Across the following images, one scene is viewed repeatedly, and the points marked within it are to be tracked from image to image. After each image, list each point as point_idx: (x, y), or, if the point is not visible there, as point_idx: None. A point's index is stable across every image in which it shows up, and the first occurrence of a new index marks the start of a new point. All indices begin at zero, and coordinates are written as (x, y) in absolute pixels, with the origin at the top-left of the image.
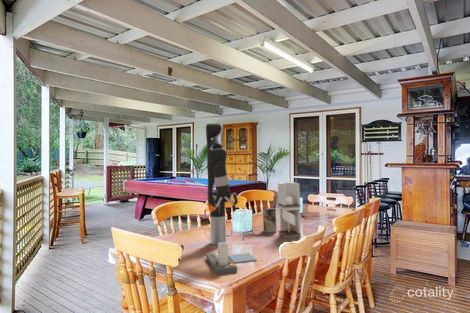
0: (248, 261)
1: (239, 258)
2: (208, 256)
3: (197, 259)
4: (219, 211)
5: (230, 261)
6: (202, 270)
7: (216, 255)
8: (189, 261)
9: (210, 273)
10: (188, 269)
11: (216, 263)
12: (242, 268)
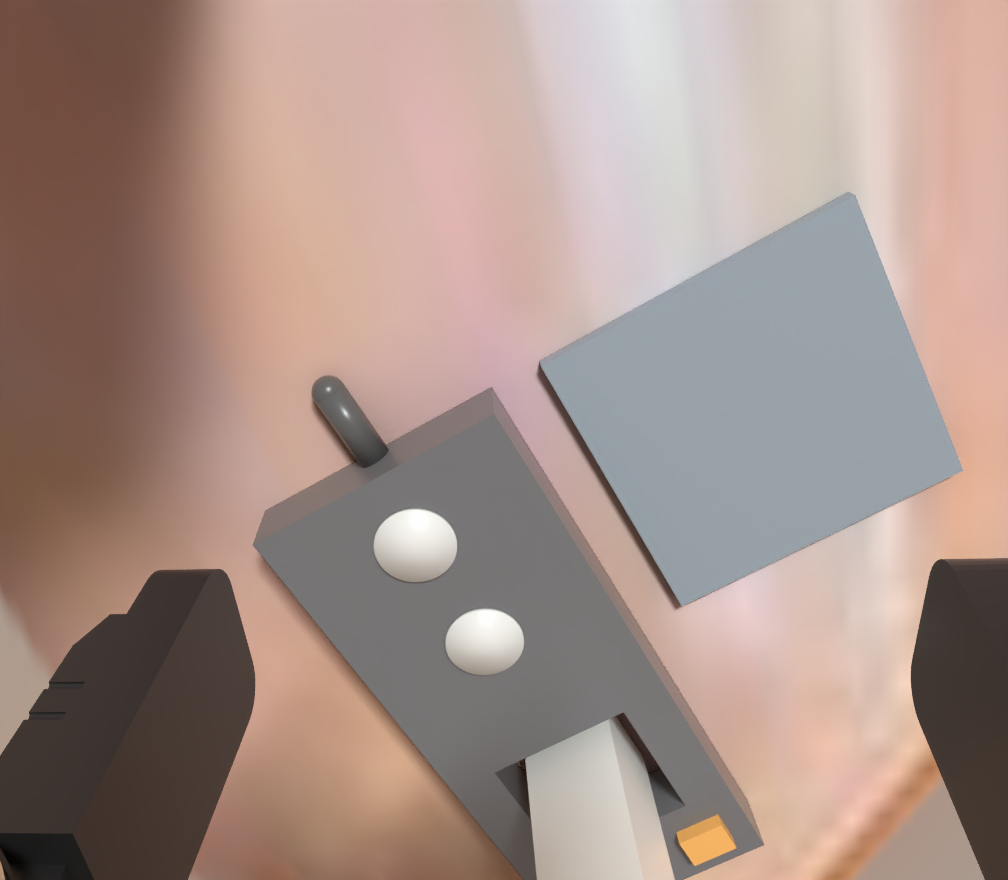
0: (852, 517)
1: (730, 467)
2: (327, 621)
3: (154, 546)
4: (211, 694)
5: (665, 729)
6: (382, 824)
7: (426, 579)
8: (92, 628)
9: (491, 867)
10: (224, 828)
11: (517, 806)
12: (792, 710)
